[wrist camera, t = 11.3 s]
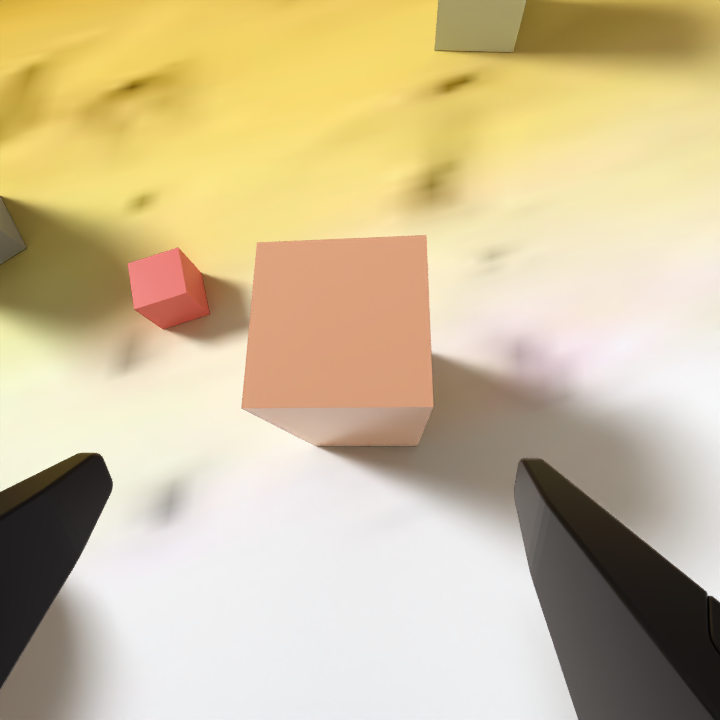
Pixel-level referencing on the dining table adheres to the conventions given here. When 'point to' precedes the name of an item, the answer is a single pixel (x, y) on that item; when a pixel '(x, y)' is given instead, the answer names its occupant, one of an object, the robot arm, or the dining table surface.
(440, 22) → the pale grey tall block
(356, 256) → the salmon pink pillar
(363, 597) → the dining table surface
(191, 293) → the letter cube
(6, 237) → the tall grey pillar
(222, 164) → the dining table surface
